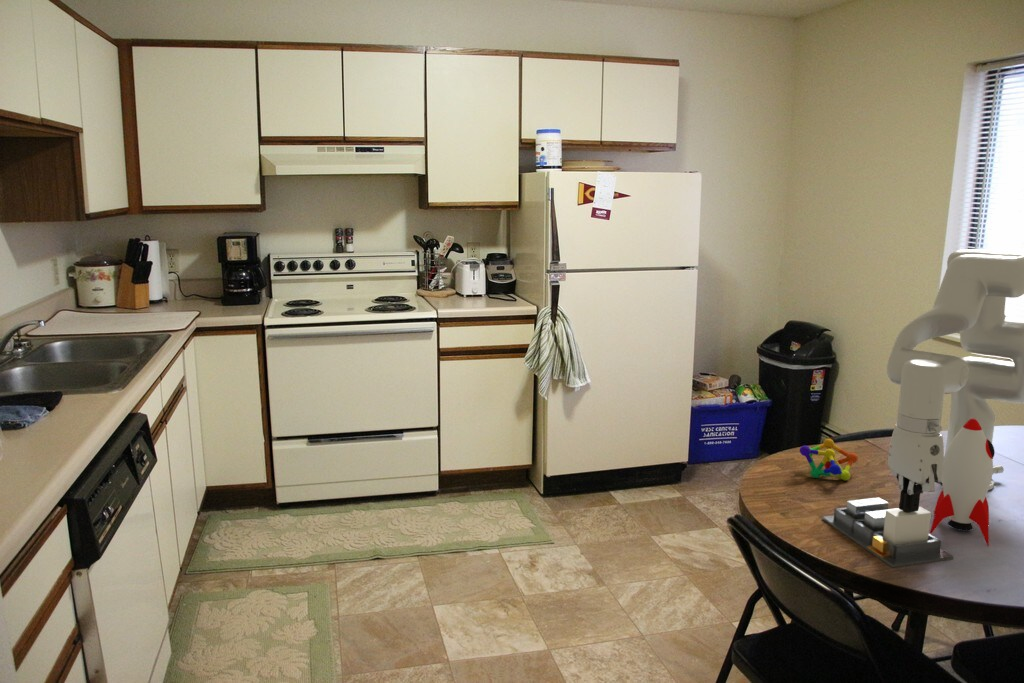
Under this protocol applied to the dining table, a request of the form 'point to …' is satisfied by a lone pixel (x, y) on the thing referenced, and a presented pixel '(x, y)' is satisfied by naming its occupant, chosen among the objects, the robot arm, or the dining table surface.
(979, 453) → the rocket
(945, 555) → the rack
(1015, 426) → the dining table surface
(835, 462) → the decorative model
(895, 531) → the block
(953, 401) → the robot arm
